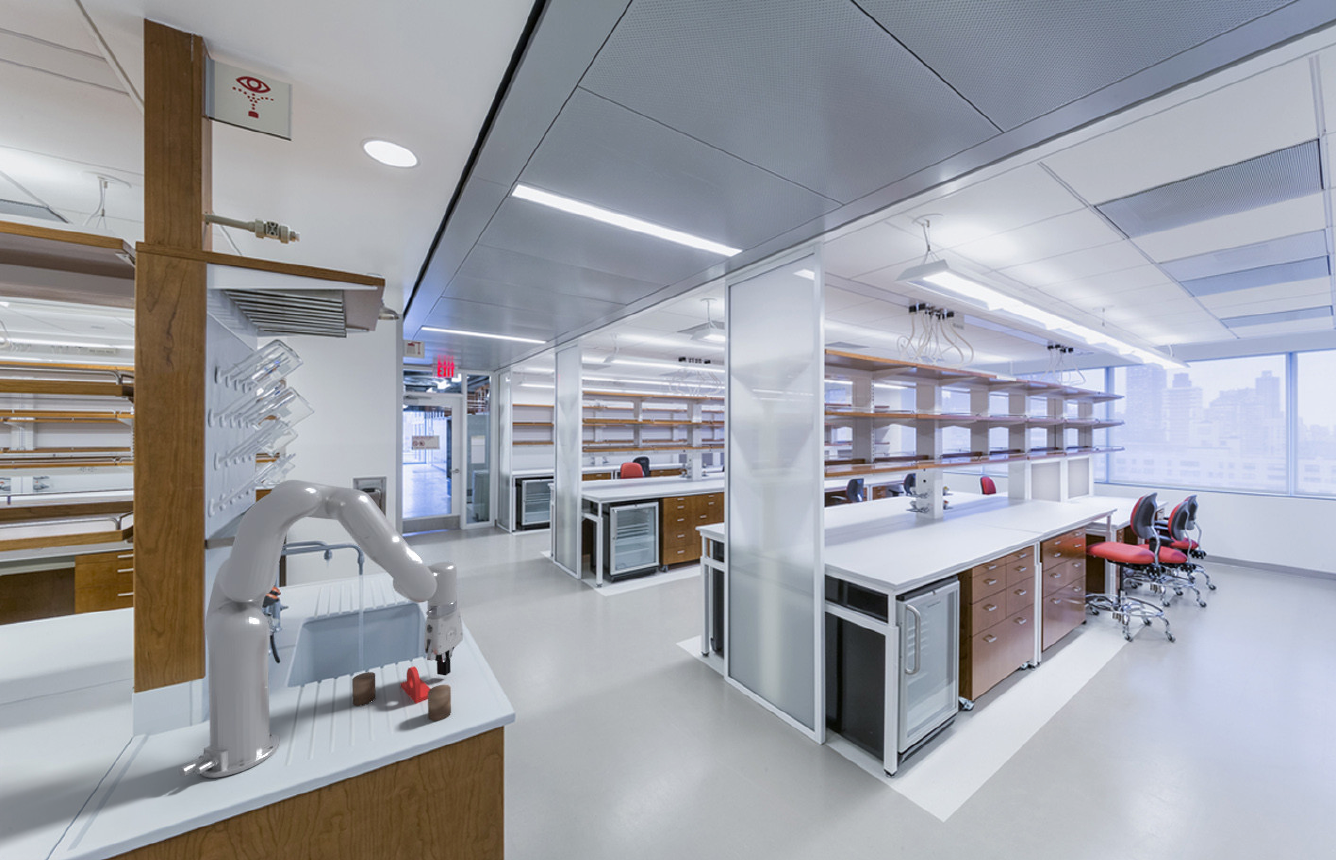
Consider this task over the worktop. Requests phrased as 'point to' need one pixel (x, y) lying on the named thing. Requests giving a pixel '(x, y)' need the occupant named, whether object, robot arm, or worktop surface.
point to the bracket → (415, 686)
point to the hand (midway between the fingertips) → (443, 673)
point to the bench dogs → (436, 696)
